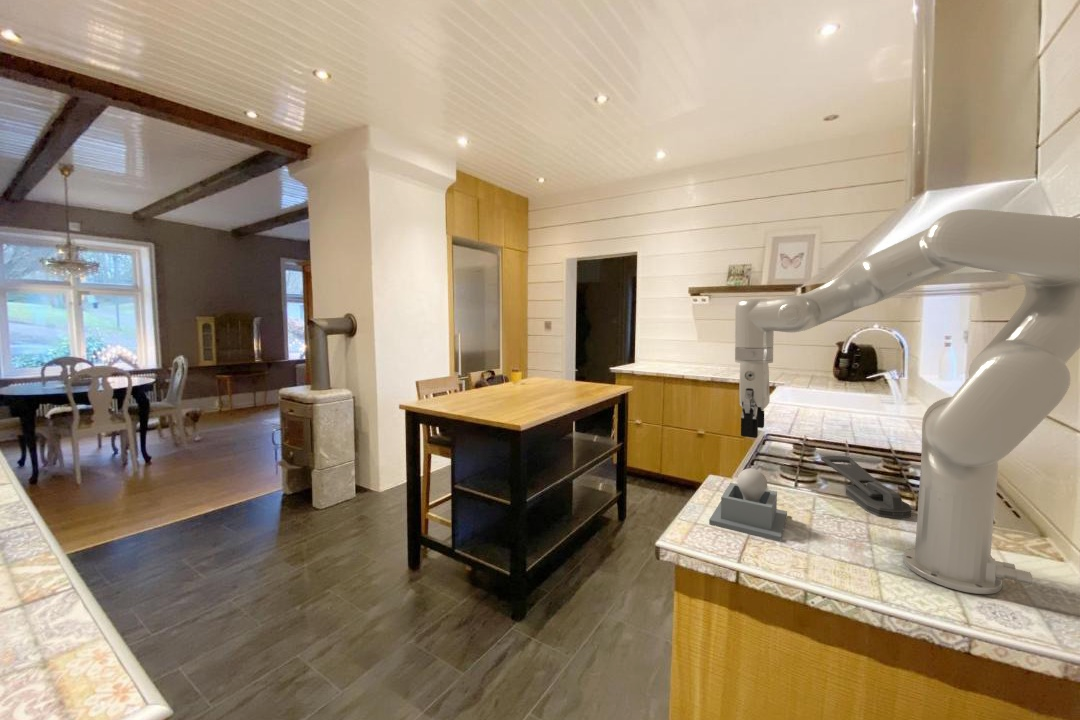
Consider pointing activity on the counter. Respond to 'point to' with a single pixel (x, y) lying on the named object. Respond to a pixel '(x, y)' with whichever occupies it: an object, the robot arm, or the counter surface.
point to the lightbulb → (752, 484)
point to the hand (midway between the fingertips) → (752, 431)
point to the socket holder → (750, 514)
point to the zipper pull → (869, 490)
